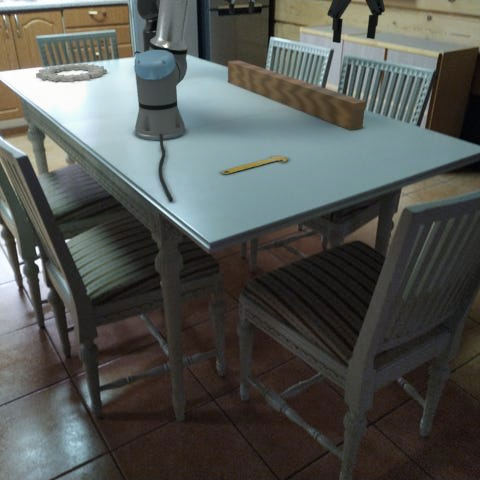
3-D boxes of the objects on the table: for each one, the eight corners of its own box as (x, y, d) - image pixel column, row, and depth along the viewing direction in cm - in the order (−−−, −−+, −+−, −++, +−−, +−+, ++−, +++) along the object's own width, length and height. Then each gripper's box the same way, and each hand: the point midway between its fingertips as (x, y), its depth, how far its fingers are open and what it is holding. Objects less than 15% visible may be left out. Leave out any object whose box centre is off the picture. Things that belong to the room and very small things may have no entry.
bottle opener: (228, 177, 130) (290, 160, 140) (228, 176, 130) (290, 159, 139) (218, 171, 133) (279, 155, 143) (218, 170, 133) (279, 154, 143)
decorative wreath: (113, 77, 224) (98, 64, 248) (112, 73, 223) (97, 61, 247) (41, 84, 213) (32, 70, 236) (40, 81, 212) (32, 67, 236)
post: (362, 127, 164) (365, 101, 160) (350, 130, 162) (353, 103, 158) (238, 80, 220) (238, 60, 216) (228, 82, 218) (227, 61, 214)
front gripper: (384, -42, 152) (375, 35, 163) (318, -40, 141) (313, 42, 152) (404, -41, 147) (393, 38, 157) (336, -40, 135) (329, 46, 146)
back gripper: (252, -35, 199) (251, 11, 207) (220, -34, 192) (220, 13, 200) (263, -34, 193) (262, 13, 201) (230, -33, 187) (230, 15, 195)
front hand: (353, 40), depth 154 cm, fingers open, 13 cm apart
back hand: (241, 13), depth 201 cm, fingers open, 8 cm apart
